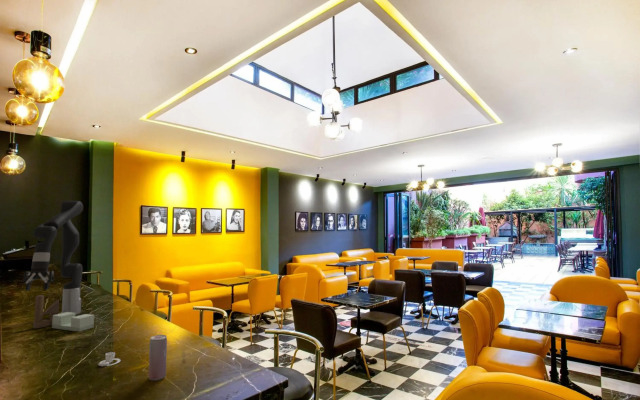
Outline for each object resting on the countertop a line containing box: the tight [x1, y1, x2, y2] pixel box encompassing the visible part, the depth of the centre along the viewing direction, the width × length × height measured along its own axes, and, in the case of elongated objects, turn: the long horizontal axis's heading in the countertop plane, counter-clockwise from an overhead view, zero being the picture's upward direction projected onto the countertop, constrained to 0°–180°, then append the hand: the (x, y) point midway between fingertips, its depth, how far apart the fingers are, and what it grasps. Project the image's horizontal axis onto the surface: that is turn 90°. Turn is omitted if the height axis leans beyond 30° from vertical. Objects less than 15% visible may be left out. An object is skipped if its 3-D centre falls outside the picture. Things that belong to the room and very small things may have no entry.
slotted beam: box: [51, 312, 95, 332], centre depth 191 cm, size 8×22×7 cm, turn 71°
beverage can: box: [148, 334, 168, 382], centre depth 127 cm, size 6×6×15 cm
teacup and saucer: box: [97, 351, 121, 367], centre depth 141 cm, size 9×8×4 cm
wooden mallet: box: [32, 294, 60, 329], centre depth 194 cm, size 4×11×18 cm, turn 139°
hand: (36, 290), depth 186 cm, fingers open, 8 cm apart
